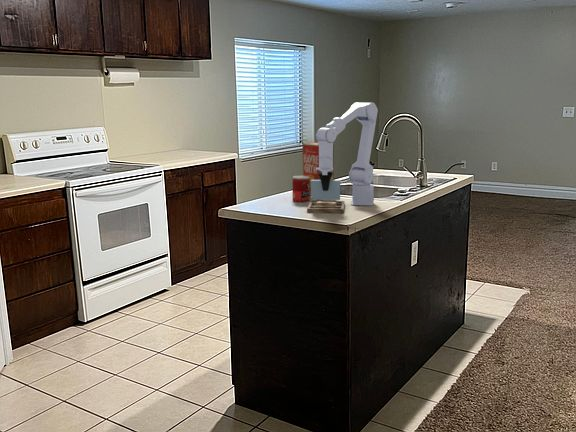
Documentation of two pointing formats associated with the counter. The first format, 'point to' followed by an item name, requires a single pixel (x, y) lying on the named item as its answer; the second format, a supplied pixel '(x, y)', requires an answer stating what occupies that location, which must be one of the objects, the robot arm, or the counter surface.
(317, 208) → the rack
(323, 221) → the counter surface
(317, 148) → the food packaging
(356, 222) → the counter surface
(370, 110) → the robot arm
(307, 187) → the canned food
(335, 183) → the panel
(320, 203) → the offcut
